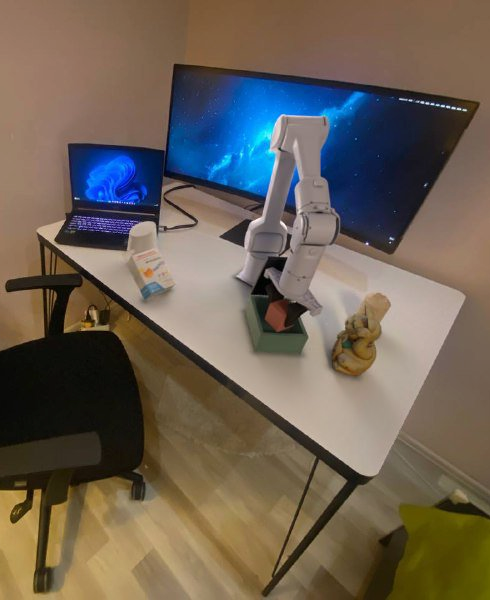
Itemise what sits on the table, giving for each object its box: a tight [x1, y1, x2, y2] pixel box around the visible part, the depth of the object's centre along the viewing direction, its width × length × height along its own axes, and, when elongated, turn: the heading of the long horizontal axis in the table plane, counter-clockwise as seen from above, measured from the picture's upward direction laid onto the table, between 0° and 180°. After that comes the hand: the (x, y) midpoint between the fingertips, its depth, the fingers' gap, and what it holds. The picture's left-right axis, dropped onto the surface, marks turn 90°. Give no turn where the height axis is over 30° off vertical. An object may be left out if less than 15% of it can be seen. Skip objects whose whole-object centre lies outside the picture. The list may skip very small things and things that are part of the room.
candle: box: [354, 292, 392, 324], centre depth 84 cm, size 6×6×10 cm
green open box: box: [244, 294, 309, 355], centre depth 84 cm, size 14×11×6 cm
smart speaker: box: [126, 220, 159, 256], centre depth 101 cm, size 10×9×14 cm
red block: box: [265, 298, 293, 332], centre depth 77 cm, size 4×4×5 cm
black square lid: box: [249, 256, 288, 297], centre depth 82 cm, size 14×11×5 cm
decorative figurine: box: [330, 305, 383, 377], centre depth 74 cm, size 10×8×15 cm
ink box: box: [122, 246, 177, 301], centre depth 94 cm, size 8×5×15 cm
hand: (280, 318), depth 78 cm, fingers closed on red block, 4 cm apart
